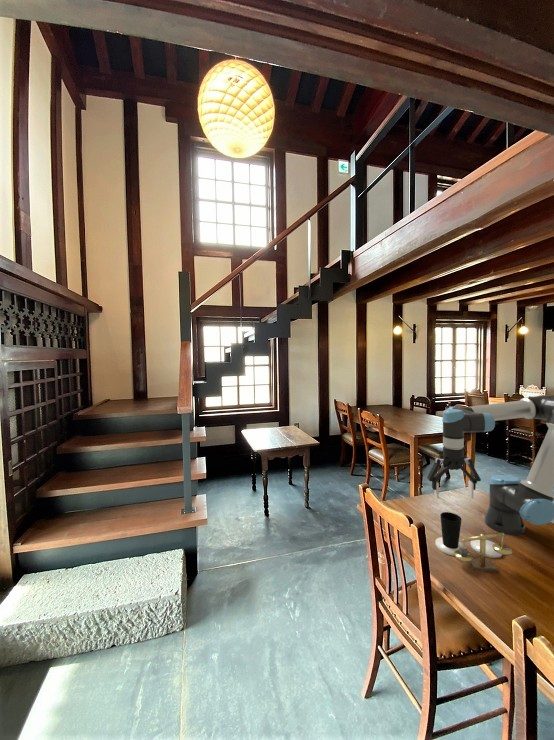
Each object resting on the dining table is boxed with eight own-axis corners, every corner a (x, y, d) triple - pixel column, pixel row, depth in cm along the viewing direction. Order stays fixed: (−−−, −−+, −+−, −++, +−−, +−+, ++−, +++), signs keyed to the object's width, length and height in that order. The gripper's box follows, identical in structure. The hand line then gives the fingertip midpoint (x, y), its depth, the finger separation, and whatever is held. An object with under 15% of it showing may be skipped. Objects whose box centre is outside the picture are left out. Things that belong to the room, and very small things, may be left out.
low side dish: (458, 540, 136) (458, 537, 135) (470, 556, 125) (470, 553, 125) (431, 539, 137) (431, 536, 137) (441, 555, 126) (441, 552, 126)
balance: (505, 562, 121) (506, 528, 120) (515, 573, 115) (516, 537, 114) (451, 559, 123) (451, 526, 122) (458, 570, 117) (459, 535, 116)
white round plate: (492, 541, 134) (492, 539, 134) (508, 558, 123) (508, 555, 123) (465, 540, 135) (465, 537, 135) (478, 557, 124) (479, 554, 124)
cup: (464, 551, 126) (464, 522, 125) (443, 549, 128) (443, 520, 127) (457, 540, 134) (457, 512, 133) (437, 538, 135) (437, 511, 135)
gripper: (480, 443, 132) (480, 493, 133) (418, 444, 134) (419, 492, 136) (490, 449, 124) (490, 501, 126) (425, 450, 127) (425, 501, 128)
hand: (453, 497), depth 131 cm, fingers open, 13 cm apart
